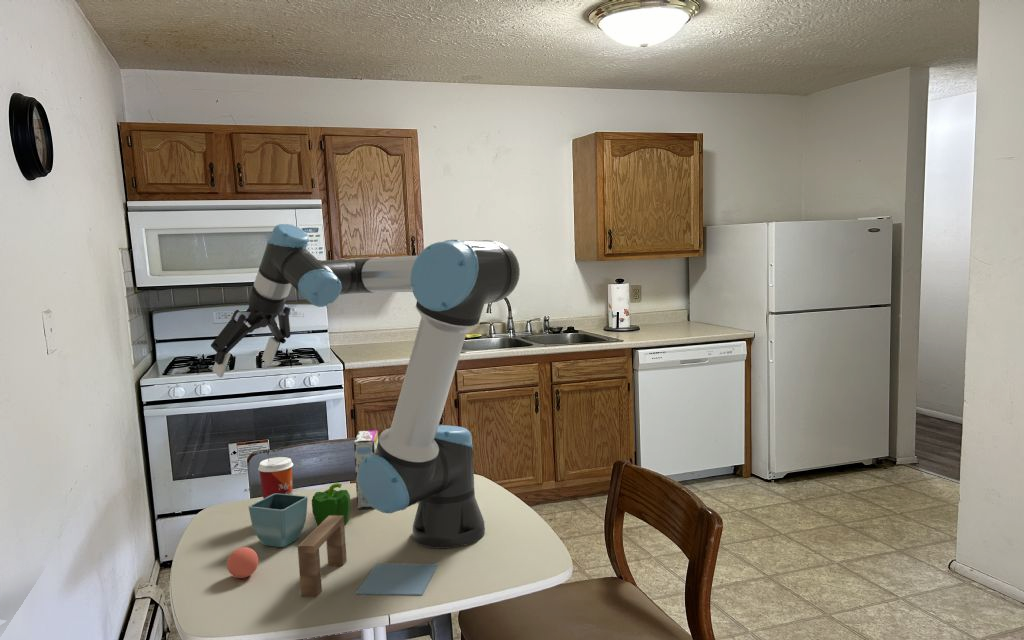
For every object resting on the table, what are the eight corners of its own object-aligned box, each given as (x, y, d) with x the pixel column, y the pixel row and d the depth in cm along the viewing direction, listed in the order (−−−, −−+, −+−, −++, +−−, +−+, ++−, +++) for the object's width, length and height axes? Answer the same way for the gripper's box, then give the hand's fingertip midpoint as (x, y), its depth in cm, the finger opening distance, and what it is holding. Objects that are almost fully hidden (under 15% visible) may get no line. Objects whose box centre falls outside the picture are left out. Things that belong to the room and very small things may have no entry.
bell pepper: (304, 533, 154) (301, 488, 153) (326, 519, 162) (323, 477, 161) (338, 537, 151) (335, 491, 150) (358, 522, 159) (355, 479, 158)
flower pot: (311, 536, 152) (308, 495, 151) (285, 553, 144) (282, 510, 143) (277, 532, 155) (274, 492, 154) (250, 548, 147) (247, 506, 146)
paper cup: (290, 526, 158) (286, 465, 157) (256, 527, 158) (252, 466, 157) (301, 513, 166) (297, 455, 165) (269, 515, 166) (265, 456, 165)
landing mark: (437, 565, 135) (437, 564, 135) (422, 595, 123) (422, 594, 123) (376, 564, 137) (376, 563, 137) (355, 594, 125) (355, 593, 125)
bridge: (346, 561, 139) (343, 515, 138) (317, 596, 124) (314, 546, 123) (331, 560, 139) (328, 515, 138) (301, 596, 125) (297, 546, 124)
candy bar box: (378, 508, 168) (374, 440, 166) (356, 510, 167) (352, 442, 166) (381, 492, 179) (378, 429, 177) (361, 494, 178) (357, 430, 177)
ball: (264, 570, 136) (262, 542, 136) (250, 583, 131) (248, 554, 130) (237, 569, 137) (235, 542, 136) (222, 583, 131) (220, 554, 131)
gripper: (302, 276, 166) (275, 348, 175) (210, 287, 145) (184, 369, 153) (323, 293, 164) (294, 366, 172) (233, 308, 142) (205, 389, 151)
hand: (242, 367), depth 163 cm, fingers open, 13 cm apart
